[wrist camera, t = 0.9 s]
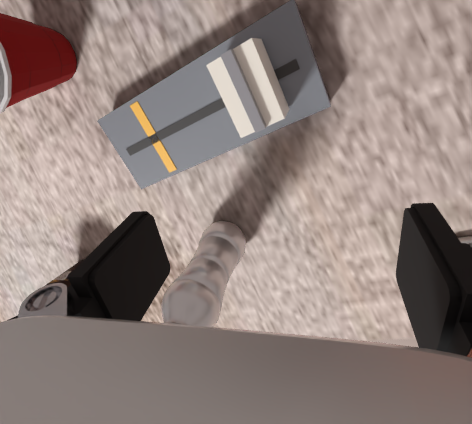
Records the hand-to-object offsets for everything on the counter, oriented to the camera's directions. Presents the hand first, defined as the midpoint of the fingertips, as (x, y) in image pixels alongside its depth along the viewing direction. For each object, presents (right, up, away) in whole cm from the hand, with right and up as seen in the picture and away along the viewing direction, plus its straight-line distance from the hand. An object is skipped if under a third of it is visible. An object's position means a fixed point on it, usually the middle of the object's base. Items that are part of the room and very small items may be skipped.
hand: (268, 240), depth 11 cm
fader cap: (+1, +14, +19) cm, 23 cm away
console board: (-4, +14, +25) cm, 28 cm away
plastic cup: (-24, +21, +26) cm, 41 cm away
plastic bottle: (-2, -2, +33) cm, 33 cm away
